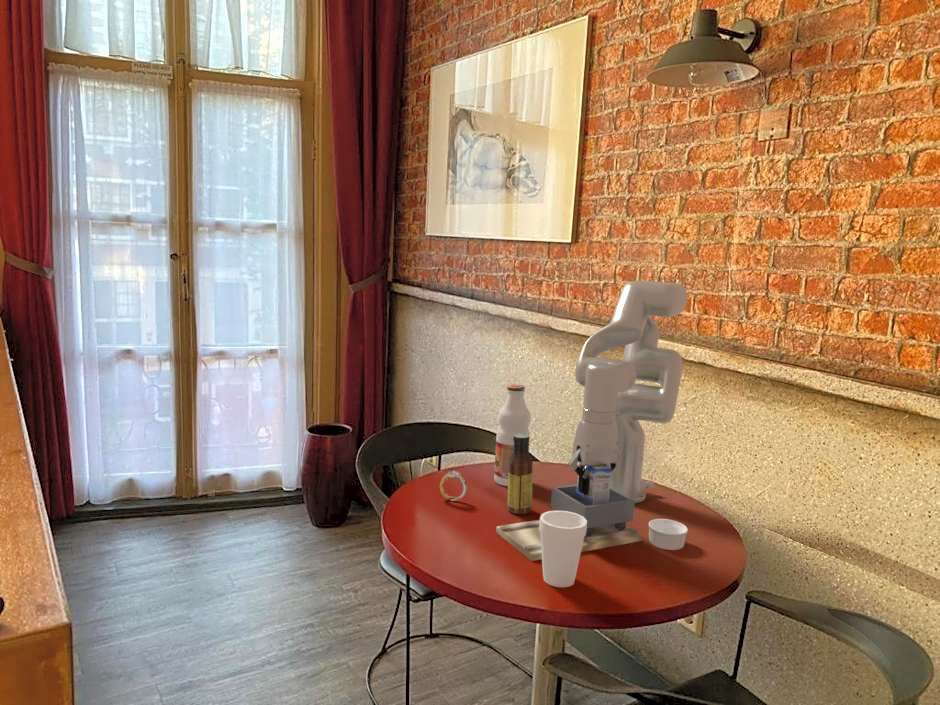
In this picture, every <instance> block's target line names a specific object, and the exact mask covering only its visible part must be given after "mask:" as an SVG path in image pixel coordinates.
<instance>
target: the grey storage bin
mask: <svg viewBox="0 0 940 705" xmlns="http://www.w3.org/2000/svg"><path fill="white" fill-rule="evenodd" d="M576 490H577V483H576V484H569V485H562V486H555V487H551V497H550V509H552V510H553V511H556V510H558V511H568V512H573V513H577V514H579V515H581V516H583V517H584V518H585V519H586V520H587V530H586V535H587V536H591V535H593V533H594V527H598V526H604V525H610V524H615V528H616V529H618V530H620V531H622V530H624V529H625V527H626V526H627V523H628V522H632V521H634V512H635V504H636V503H635V500H633V499H631V498H630V497H628V496H626V495H624V494H622V493H620V492H618V491H616V490H614V489H613V488H611V487H610V494H609V503H603V504H596V505H592V504H591V503H589V502H588V501H587V500H585V499H583V498H582V497H580V496H579V495H578V494H577V493H576Z"/></svg>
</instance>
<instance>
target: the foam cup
mask: <svg viewBox="0 0 940 705" xmlns="http://www.w3.org/2000/svg"><path fill="white" fill-rule="evenodd" d="M539 520H540V523H539V529H540V535H541V551H542V559H541V563H542V564H541V565H542V577H543V578H542V579H543V581H544V582H545V583H547V585H549V586H552V587H556V588H568V587H572V586H573V585H574V584H575V580H576V578H577V573H578V566H579V563H580V557H581V555H582V554H581V553H582V552H581V550H582V545H583V540H584V536H585V535H586V530H587V520H586V519H585V518H584V517H583V516H581V515H579V514H577V513H573V512H568V511H558V510H556V511H555V510H549V511H545V512H543V513H541V515H540V517H539Z"/></svg>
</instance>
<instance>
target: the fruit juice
mask: <svg viewBox="0 0 940 705" xmlns="http://www.w3.org/2000/svg"><path fill="white" fill-rule="evenodd" d="M506 387H507V388H506V390H507V391H506V392H508V393H507V397H506V400H505V402H504V404H503V406H502V407H501V408H500V409H499V411H498V415H497V419H498V424H499V425H498V428H497V431H496V436H495V437H496V438H495V454H494V456H495V457H494V459H495V460H494V470H493V472H494V474H493V479H494V480H493V481H494V483H496V484H498V485H500V486H503V487H508V470H509V459H510V457H511V455H512V454H513V449H514V441H513V435H515V434H526V435H529V444H528V450H529V452H528V453H529V454H530V442H531V441H530V439H531V438H530V437H531V436H530V435H531V434H530V431H529V426H530V422H531V413H530V411H529V409H528V407H527V405H526V402H525V397H524V393H525V390H526V387H525V386H524V385H523V384H516V383H515V384H511V383H510V384H508V385H507V386H506Z"/></svg>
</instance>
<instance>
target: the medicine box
mask: <svg viewBox="0 0 940 705" xmlns="http://www.w3.org/2000/svg"><path fill="white" fill-rule="evenodd" d="M579 464H580V462H578V465H579ZM584 468H585V467H584ZM583 471H584V469H583ZM611 471H612V469H611V468H609V467H607V466H605V465H596V466H591V467H590V471H589V474H588V477H587V478H589V492H588V495H584V494H583V493H581V492H579V491H578V482H579V475H577V481H576V482H577V483H576V484H577V490H576V493H577V494H578V495H579V496H580V497H582V498H583V499H585V500H587V501H588V502H589V503H591V504H592V505H596V504H603V503H609V494H610V483H611Z"/></svg>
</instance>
